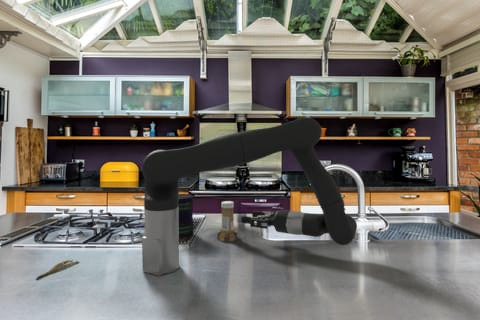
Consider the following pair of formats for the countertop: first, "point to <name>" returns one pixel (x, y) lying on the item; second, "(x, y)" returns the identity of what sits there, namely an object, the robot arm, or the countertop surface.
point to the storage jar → (185, 215)
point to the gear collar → (226, 238)
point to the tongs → (58, 268)
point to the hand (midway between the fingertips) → (247, 216)
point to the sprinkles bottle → (227, 217)
